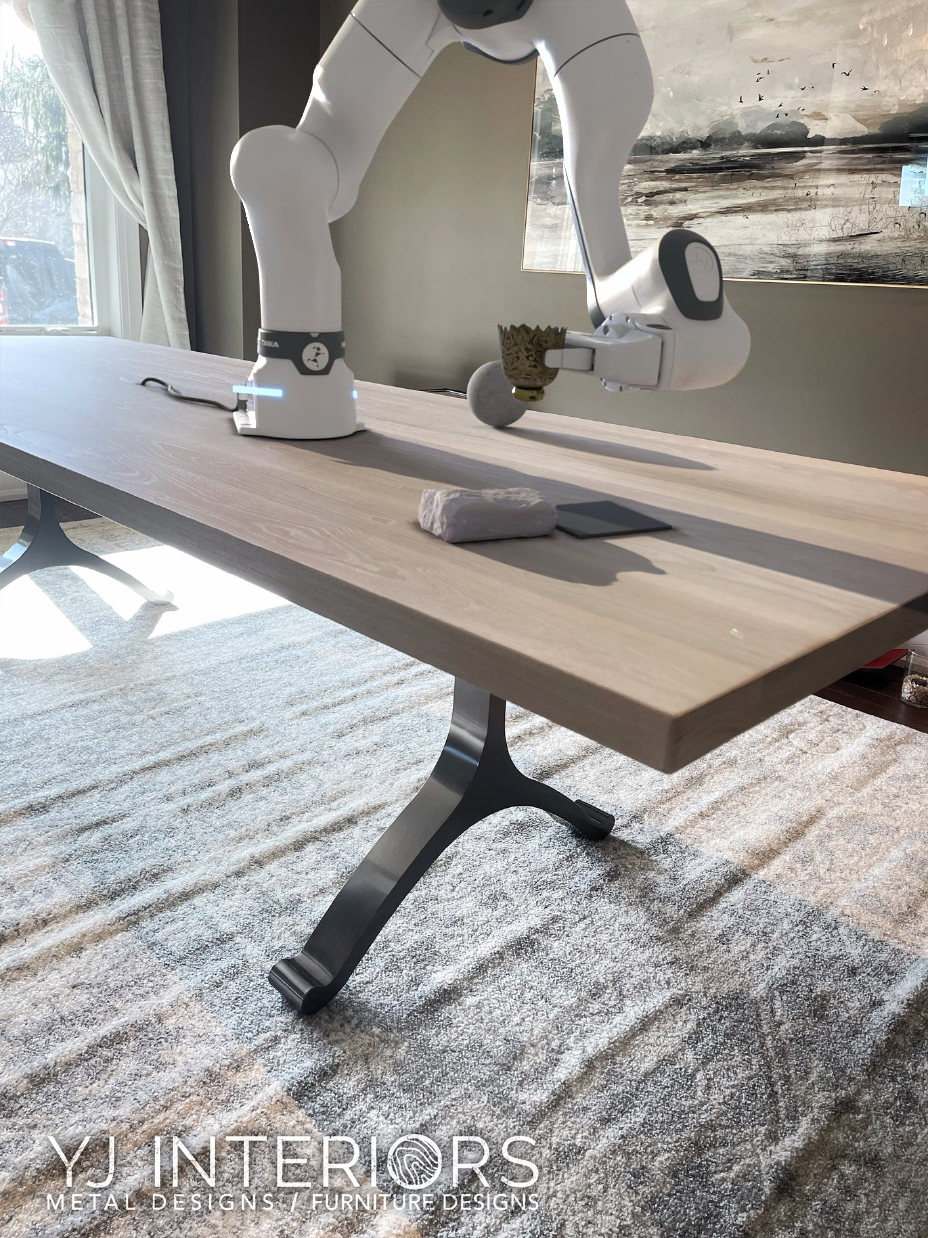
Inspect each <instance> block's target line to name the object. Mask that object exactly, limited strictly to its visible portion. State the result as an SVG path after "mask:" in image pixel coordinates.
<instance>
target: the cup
mask: <svg viewBox="0 0 928 1238" xmlns="http://www.w3.org/2000/svg"><path fill="white" fill-rule="evenodd" d="M543 330H544V331H543ZM559 330H560V332H559ZM567 331H568V326H566V327H564V326H562V327H560V328H559V327H558V326H554V327H552V326H551V324H548V325H547V326H546V328H544V329H542V328H541V327H540V326H539V324H537V325H536V326H535V328H534V329H533V328H532V327H530V326H529V325H527V324H526V323H521V324H520V325H518V326H516V325H515V324H510V325H509V329H508V328H507V326H504V328H503V324H501V325H500V324H499V323H497V332H498V333H497V334H498V348H499V361H500V362H501V368H502V372H503V375H504V377H505V378H506V380H507V381H508V382H509V383H511V384H512V385H515V387H514V389H513V391H512V394H513V397H514V399H515V400H517V401H522V402H530V403H538V402H542V401H543V400H544V399H545V397H546V394H547V393H546V389H545V388H544V387H547V386H549V385H550V384H552V383H553V382H554V381H555V380H556V378H557V376H558V374H559V372H560V368H550V367H545V366H542V365H541V363H540V360H541V351H542V350H543V349H564V343H565V337H566V332H567Z"/></svg>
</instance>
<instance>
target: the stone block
mask: <svg viewBox="0 0 928 1238" xmlns="http://www.w3.org/2000/svg"><path fill="white" fill-rule="evenodd" d="M420 495H421V496H420V502H419V505H418V511H417V512H418V522H419V524H420V527H421V529H422V530H423V531H427V532H429V533H432V534H433V535H435V536H436V537H437V538H440V539H442V540H444V542H447V543H467V542H477V541H488V540H489V541H490V540H497V539H512V538H520V537H523V538H529V537H538V536H539V537H540V536H544V535H551V534H552V533H553V531H554V530H555V528H557V527H556V525H557V522H558V512H557V509H556V506H555V505H556V504H555V503H554V502H552V501H551V500H550V499H549V498H548V497H546V496H544V495H543V494H542V493H541V492H539V491H537V490H535V489H532V488H531V487H529V488H527V487H522V486H521V487H498V488H484V489H476V490H475V489H461V488H434V489H428V488H425V489H424V490H423V491H422V493H421V494H420Z"/></svg>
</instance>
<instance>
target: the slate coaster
mask: <svg viewBox="0 0 928 1238" xmlns="http://www.w3.org/2000/svg"><path fill="white" fill-rule="evenodd" d="M554 505H555V506H556V509H557V512H558V522H557V525H556V527H555V528H556V529H559V530H561V531H562V532H565V533H567V534H570V535H571V536H573V537H576V538H578V539H587V538H597V537H606V536H607V537H608V536H616V535H625V534H634V533H643V532H653V531H661V530H663V531H664V530H672V529H673V525H671V524H668V523H666V522H664V521H661V520H659V519H656V518H653V517H651V516H649V515H645V514H643V513H640V512H638V511H636V510H632V509H630V508H628V507H625V506H623V505H620V504H618V503H615V502H612V501H610V500H601V501H600V500H599V501H588V502H578V503H577V502H576V503H565V504H554Z"/></svg>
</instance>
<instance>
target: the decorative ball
mask: <svg viewBox="0 0 928 1238" xmlns="http://www.w3.org/2000/svg"><path fill="white" fill-rule="evenodd" d="M514 387H515V385H512V384H511V383H509V382H508V381H507V380H506V378H505V377H504V375H503V372H502V368H501V362H500V360H493V361H489V362H487V363H484V364H483V365H480V366H479V367H478V368H477V369H476V371H474V372H473V374H472V375H471V377H470V378H469V382H468V384H467V388H466V400H467V404H468V407H469V409H470V411H471V413H472V415H474V416H475V418H476V419H477V420H479V421H480V422H481V423H483V424H484V425H487V426H490V427H497V428H498V427H499V428H502V427H507V426H510V425H512V424H514V423H516V422H517V421H519V420H520V419H521V418H522V417H523V416H524V415H525V413H526V412H527V411H528V408H529V406H530V403H531V402H522V401H517V400H515V399H514V397H513V394H512V391H513V389H514Z"/></svg>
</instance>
